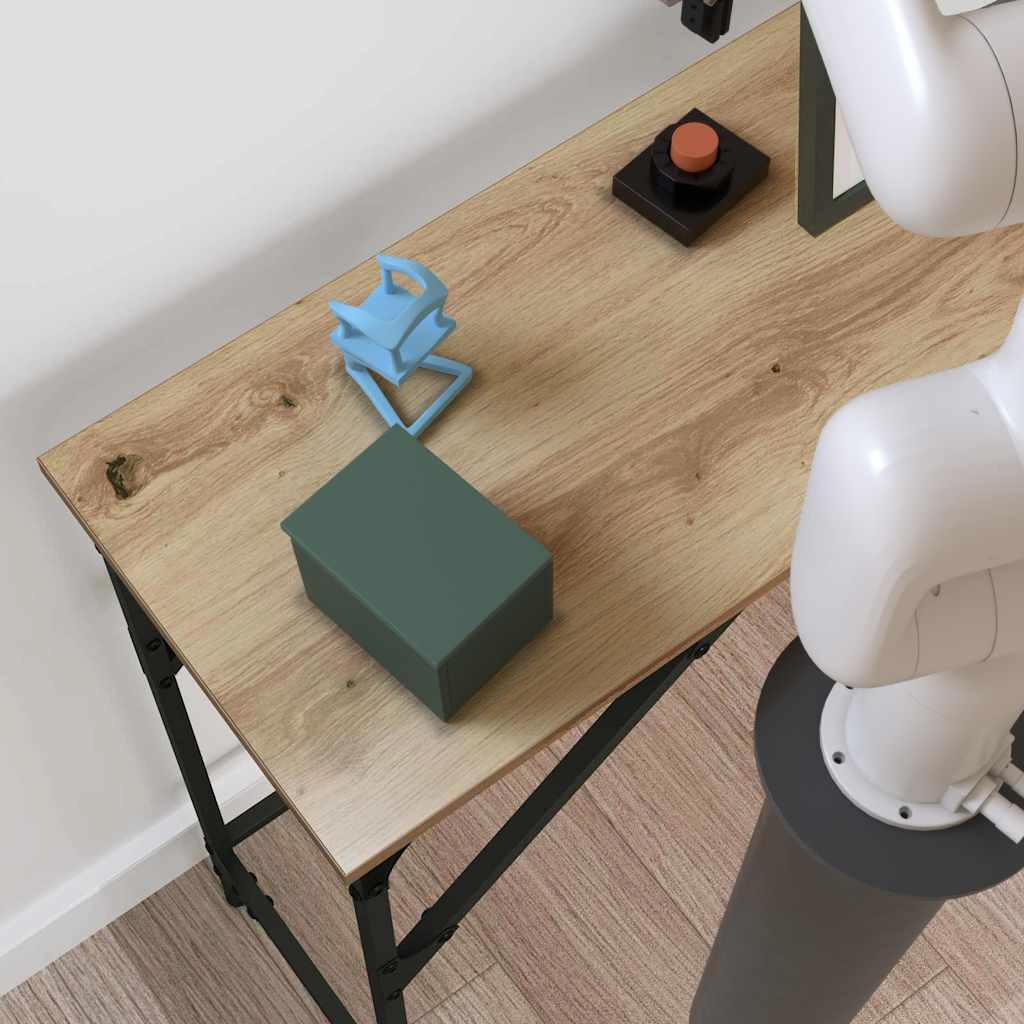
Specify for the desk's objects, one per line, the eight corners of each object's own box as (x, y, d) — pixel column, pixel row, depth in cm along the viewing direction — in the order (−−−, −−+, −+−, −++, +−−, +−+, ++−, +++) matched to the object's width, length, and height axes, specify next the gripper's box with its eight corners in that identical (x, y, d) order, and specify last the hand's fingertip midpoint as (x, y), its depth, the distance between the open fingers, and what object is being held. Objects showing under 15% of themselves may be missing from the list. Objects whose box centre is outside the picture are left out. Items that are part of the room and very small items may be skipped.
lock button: (725, 154, 127) (728, 138, 125) (696, 180, 126) (697, 164, 124) (690, 130, 128) (692, 115, 127) (660, 155, 127) (662, 140, 125)
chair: (391, 322, 124) (376, 222, 114) (475, 377, 121) (468, 279, 111) (324, 389, 121) (303, 292, 111) (409, 447, 119) (396, 353, 108)
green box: (307, 598, 113) (289, 539, 105) (415, 501, 116) (406, 437, 109) (445, 723, 108) (437, 671, 100) (553, 619, 112) (553, 560, 104)
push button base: (768, 176, 130) (774, 142, 127) (686, 248, 127) (690, 215, 123) (692, 125, 133) (696, 90, 130) (611, 194, 130) (613, 160, 126)
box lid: (280, 528, 105) (278, 523, 104) (397, 427, 109) (396, 421, 108) (437, 670, 100) (436, 665, 100) (553, 560, 104) (554, 554, 103)
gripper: (698, -100, 95) (675, 114, 112) (854, -224, 100) (811, -2, 117) (604, -159, 98) (595, 59, 114) (761, -277, 103) (731, -53, 119)
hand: (704, 27), depth 115 cm, fingers closed
